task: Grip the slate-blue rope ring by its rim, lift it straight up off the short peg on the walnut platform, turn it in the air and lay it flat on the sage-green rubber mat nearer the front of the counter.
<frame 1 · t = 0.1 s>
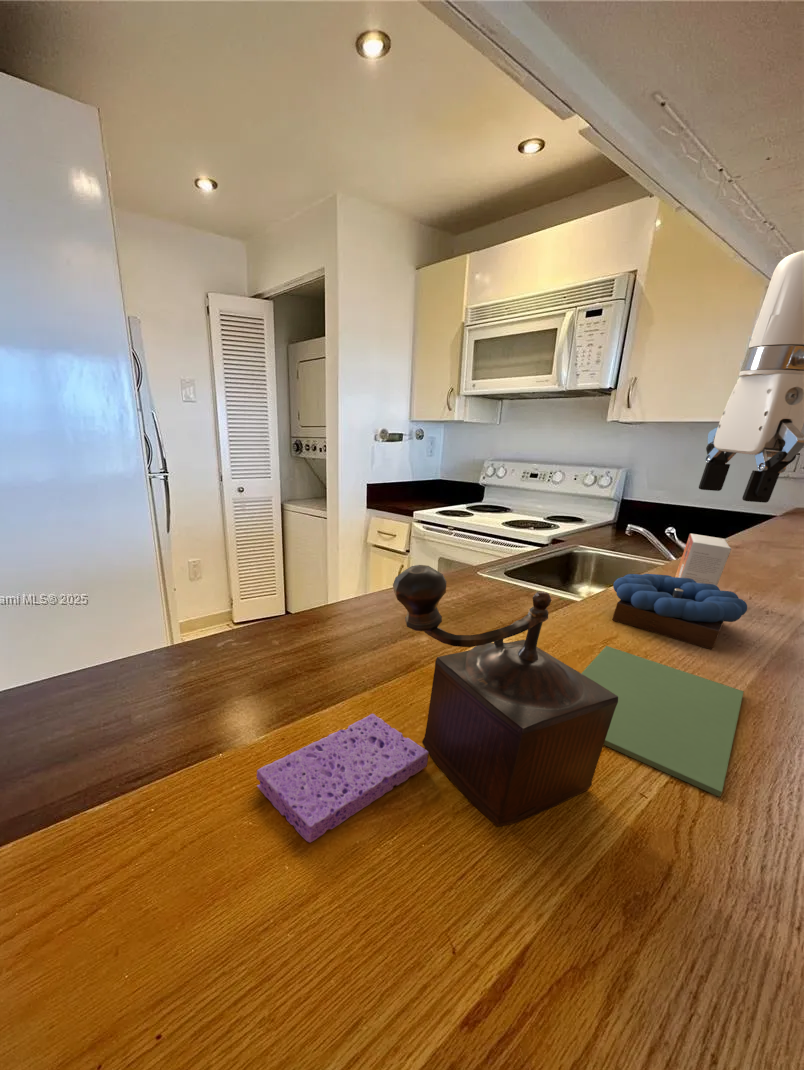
hand: (730, 495, 69), 20 cm above the countertop, tool pointing down, fingers open, 9 cm apart
ring: (673, 604, 73), point 3 cm above the countertop, touching platform
small box: (689, 596, 87), on the countertop
sponge: (344, 779, 39), on the countertop
dark brown coffee grinder: (476, 774, 41), on the countertop
platform: (667, 622, 74), on the countertop
mat: (649, 706, 52), on the countertop
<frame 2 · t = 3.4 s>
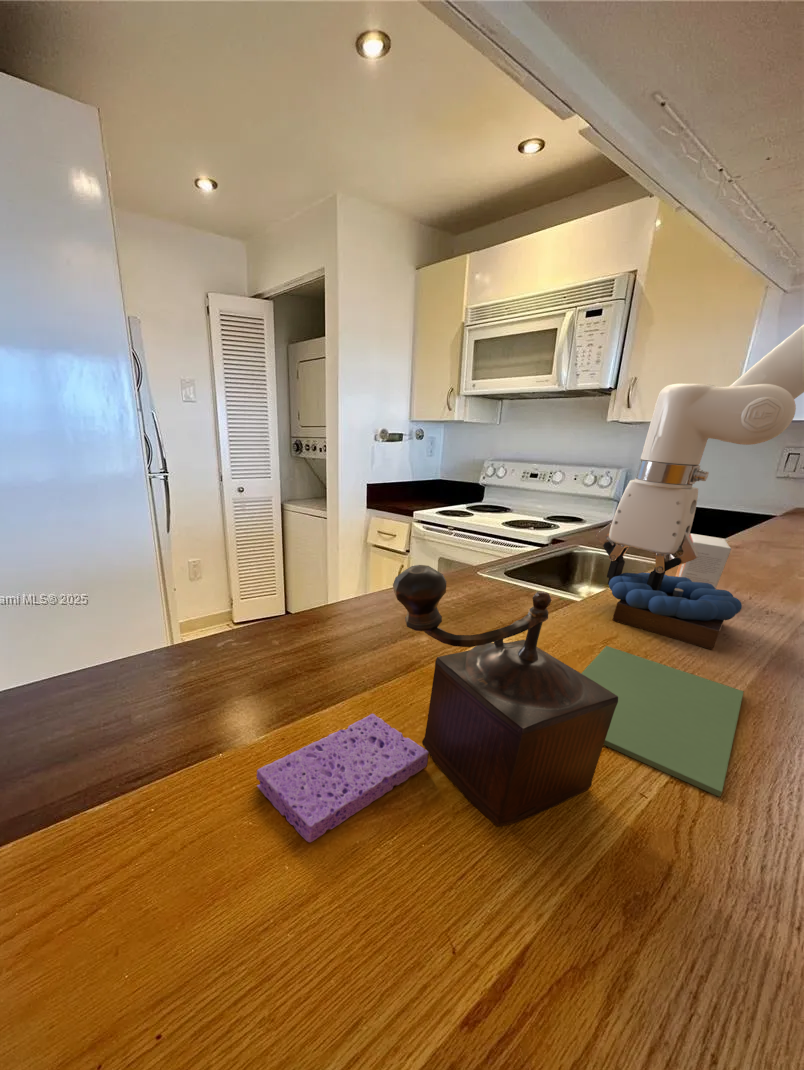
hand: (631, 587, 77), 4 cm above the countertop, tool pointing down, fingers closed on ring, 4 cm apart
ring: (668, 603, 74), point 3 cm above the countertop, touching gripper, platform
everything else where it was.
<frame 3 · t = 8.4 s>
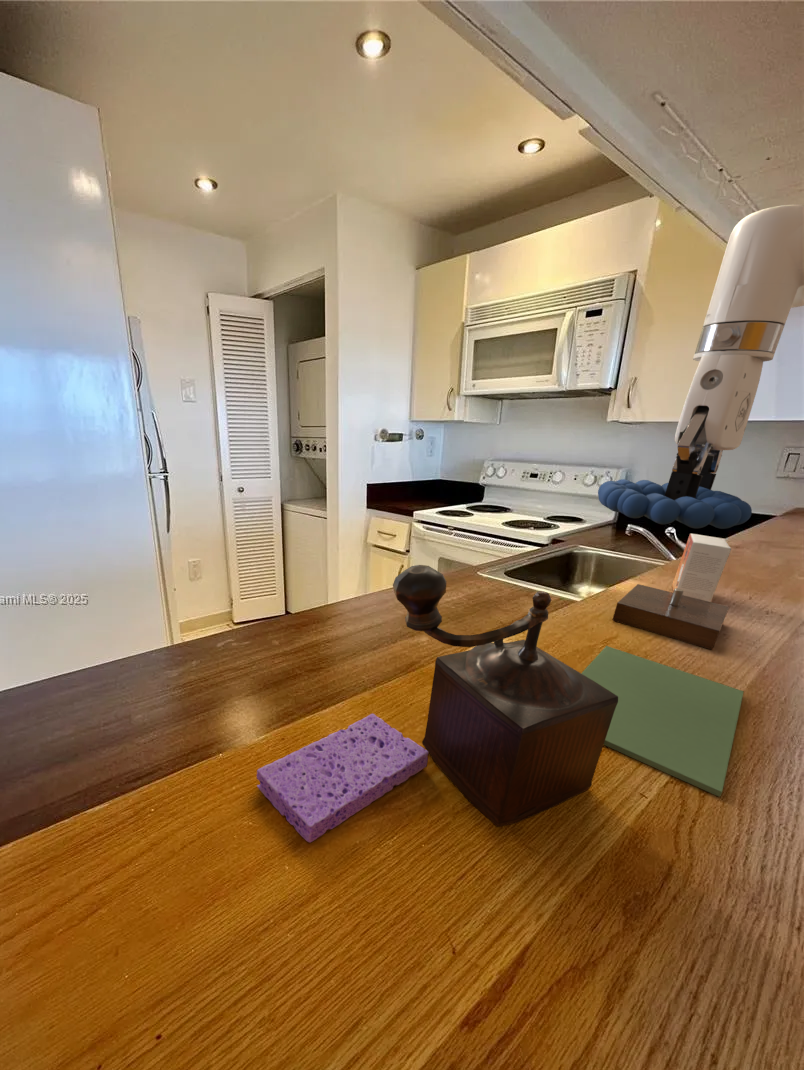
hand: (684, 503, 61), 19 cm above the countertop, tool pointing down, fingers closed on ring, 4 cm apart
ring: (663, 512, 58), point 19 cm above the countertop, touching gripper
everything else where it was.
when the fingers open (2 cm above the countertop, at t = 13.8 s): ring stays where it is, resting on mat.
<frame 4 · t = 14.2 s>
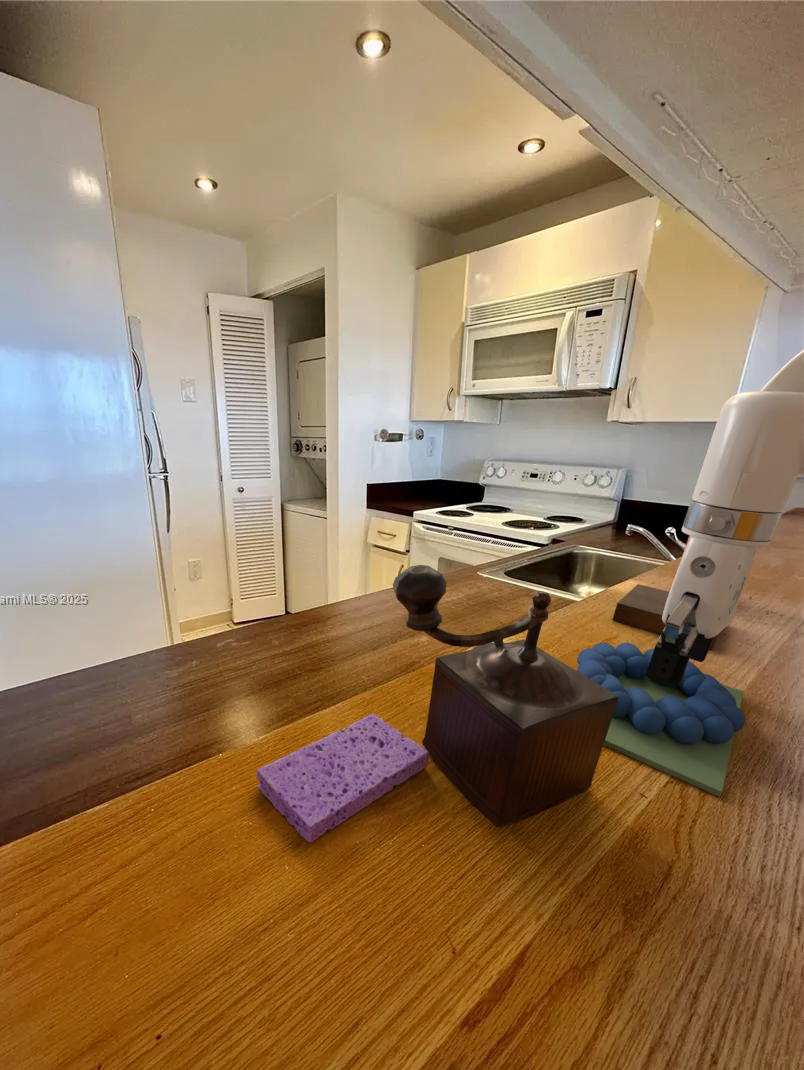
hand: (675, 668, 55), 2 cm above the countertop, tool pointing down, fingers open, 9 cm apart
ring: (648, 697, 52), point 1 cm above the countertop, touching mat
everything else where it was.
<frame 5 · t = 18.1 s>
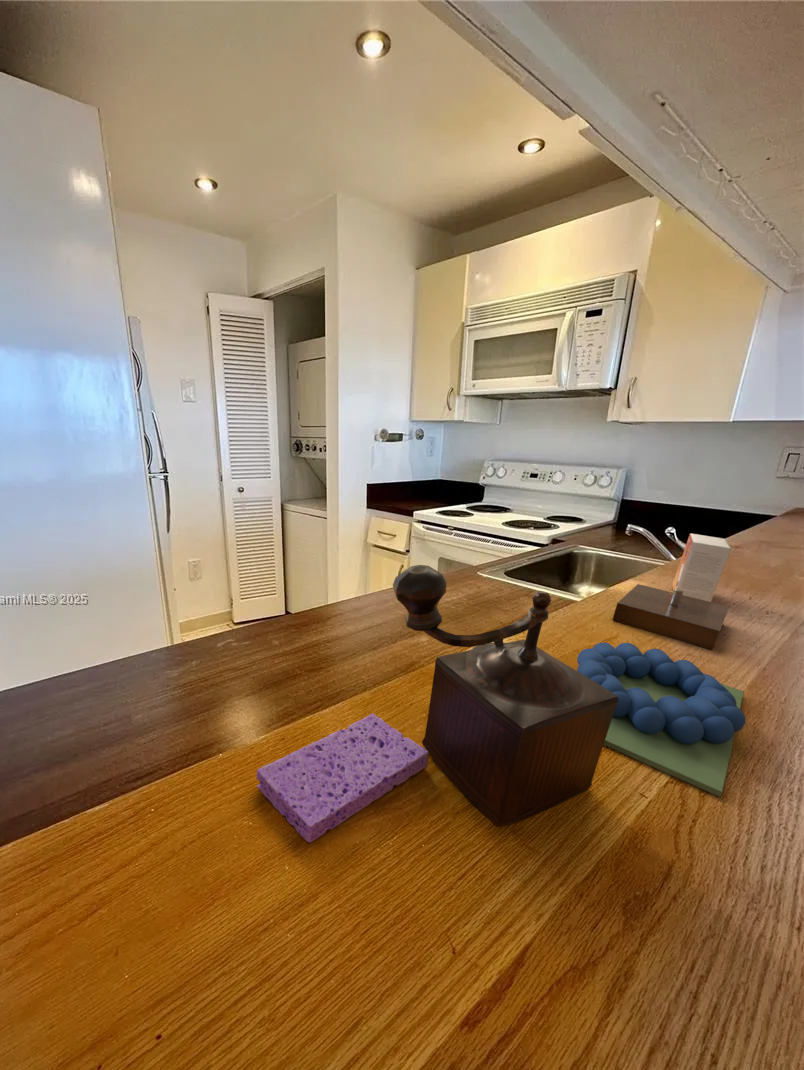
nothing on the countertop moved.
at the end: ring inside the target area on the mat (0.8 cm from its centre), point 0.6 cm above the mat's base; ring touching mat; ring tilted 0° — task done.
